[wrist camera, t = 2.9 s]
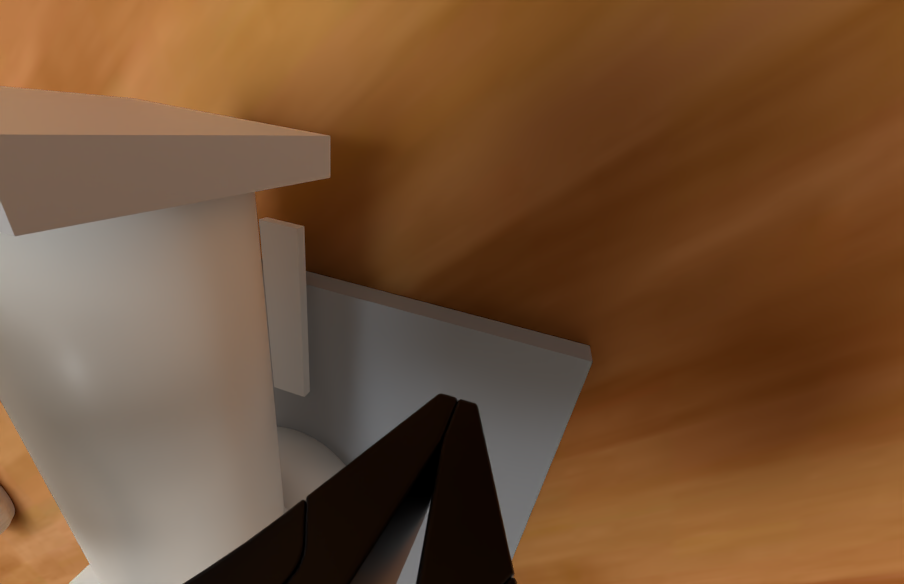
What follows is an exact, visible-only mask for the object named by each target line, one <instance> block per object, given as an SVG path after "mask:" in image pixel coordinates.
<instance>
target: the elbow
mask: <svg viewBox="0 0 904 584" xmlns="http://www.w3.org/2000/svg"><path fill="white" fill-rule="evenodd" d="M326 178H330V136H329V135H324V134H319V133H313V132H308V131H303V130H298V129H292V128H287V127H282V126H276V125H271V124H266V123H261V122H255V121H250V120H245V119H240V118H234V117H229V116H224V115H219V114H213V113H208V112H203V111H197V110H192V109H187V108H182V107H176V106H171V105H166V104H161V103H155V102H150V101H145V100H139V99H134V98H125V97H114V96H103V95H92V94H81V93H70V92H59V91H48V90H37V89H26V88H15V87H5V86H0V401H1V402H2V404H3V406H4V408H5V410H6V412H7V413H8V415H9V417H10V419H11V421H12V423H13V424H14V426H15V428H16V430H17V432H18V434H19V435H20V437H21V439H22V441H23V443H24V445H25V446H26V448H27V450H28V452H29V454H30V456H31V457H32V459H33V461H34V463H35V465H36V467H37V468H38V470H39V472H40V474H41V476H42V477H43V479H44V481H45V483H46V485H47V487H48V488H49V490H50V492H51V494H52V496H53V498H54V499H55V501H56V503H57V505H58V507H59V509H60V510H61V512H62V514H63V516H64V518H65V520H66V521H67V523H68V525H69V527H70V529H71V531H72V532H73V534H74V536H75V538H76V540H77V542H78V543H79V545H80V547H81V549H82V551H83V553H84V554H85V556H86V558H87V560H88V562H89V565H88V566H87V567H86V568H85V569H84V570H83V571H82V572H81V573H79V574H78V575H77V576H76V577H75V578H74V579H73V580H72V581H71V582H70V583H69V584H183V583H185V582H186V581H188V580H189V579H191V578H192V577H194V576H195V575H197V574H199V573H200V572H202V571H203V570H205V569H206V568H208V567H209V566H211V565H212V564H214V563H215V562H217V561H218V560H220V559H221V558H223V557H224V556H226V555H227V554H229V553H230V552H232V551H233V550H235V549H236V548H238V547H239V546H240V545H242V544H243V543H245V542H246V541H248V540H249V539H251V538H252V537H253V536H255V535H256V534H257V533H259V532H260V531H261V530H263V529H264V528H265V527H267V526H268V525H270V524H271V523H272V522H274V521H275V520H276V519H278V518H279V517H280V516H282V515H283V514H284V513H286V512H287V511H288V510H287V509H286V508H285V507H284V500H283V489H282V478H281V468H280V457H279V446H278V435H277V425H276V414H275V403H274V392H273V382H272V371H271V360H270V349H269V339H268V328H267V317H266V306H265V295H264V285H263V274H262V263H261V252H260V242H259V231H258V220H257V209H256V199H255V192H256V191H262V190H267V189H273V188H278V187H283V186H289V185H294V184H299V183H305V182H310V181H316V180H321V179H326Z"/></svg>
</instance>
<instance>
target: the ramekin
mask: <svg viewBox="0 0 904 584" xmlns="http://www.w3.org/2000/svg"><path fill="white" fill-rule="evenodd" d="M14 515H15V508H14V505H13V503H12V501H11V499H10V497H9V496H8V494H7V493H6V492H5V490H4V489H3V488H2V487H1V485H0V534H1V533H3V532H4V531H5V530H6V529H7V528H8V526H9V525H10V523H11V520H12V518H13V517H14Z"/></svg>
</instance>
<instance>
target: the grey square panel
mask: <svg viewBox="0 0 904 584" xmlns="http://www.w3.org/2000/svg"><path fill="white" fill-rule="evenodd" d="M259 227H260V238H261V249H262V259H261V263H262V274H263V285H264V295H265V306H266V317H267V328H268V339H269V349H270V360H271V371H272V382H273V392H274V403H275V414H276V425H277V435H278V446H279V457H280V468H281V478H282V489H283V500H284V507H285V508H286V509H287V510H289V509H291V508H292V507H293V506H294V505H296V504H297V503H298V502H300V501H301V500H305V501H306V497H307V496H308V495H309V494H310V493H311V492H313V491H314V490H315V489H317V488H318V487H319V486H321V485H322V484H323V483H324V482H326V481H327V480H328V479H330V478H331V477H332V476H333V475H335V474H336V473H337V472H339V471H340V470H341V469H342V468H344V467H345V466H346V465H348V464H349V463H350V462H351V461H353V460H354V459H355V458H357V457H358V456H359V455H360V454H362V453H363V452H364V451H366V450H367V449H368V448H369V447H371V446H372V445H373V444H375V443H376V442H377V441H378V440H380V439H381V438H382V437H384V436H385V435H386V434H387V433H389V432H390V431H391V430H393V429H394V428H395V427H396V426H398V425H399V424H400V423H402V422H403V421H404V420H405V419H407V418H408V417H409V416H411V415H412V414H413V413H414V412H416V411H417V410H418V409H420V408H421V407H422V406H423V405H425V404H426V403H427V402H429V401H430V400H431V399H432V398H434V397H435V396H436V395H438V394H440V393H443V394H446V395H450V396H453V397H456V398H457V400H459V399H463V400H467V401H470V402H473V403H476V404H477V406H478V409H479V413H480V418H481V422H482V427H483V432H484V436H485V441H486V445H487V450H488V455H489V459H490V464H491V468H492V473H493V478H494V482H495V487H496V491H497V496H498V501H499V505H500V510H501V514H502V519H503V524H504V528H505V533H506V537H507V542H508V547H509V551H510V556H511V560H512V558H513V556H514V553H515V551H516V548H517V546H518V544H519V541H520V539H521V536H522V534H523V531H524V529H525V526H526V524H527V521H528V519H529V517H530V514H531V512H532V509H533V507H534V504H535V502H536V499H537V497H538V495H539V492H540V490H541V487H542V485H543V482H544V480H545V477H546V475H547V472H548V470H549V468H550V465H551V463H552V460H553V458H554V455H555V453H556V450H557V448H558V445H559V443H560V441H561V438H562V436H563V433H564V431H565V428H566V426H567V423H568V421H569V418H570V416H571V414H572V411H573V409H574V406H575V404H576V401H577V399H578V396H579V394H580V392H581V389H582V387H583V384H584V382H585V379H586V377H587V374H588V372H589V369H590V367H591V365H592V362H593V361H592V356H591V350H590V346H589V345H585V344H582V343H578V342H574V341H570V340H566V339H563V338H559V337H555V336H551V335H547V334H544V333H540V332H536V331H532V330H528V329H525V328H521V327H517V326H513V325H509V324H506V323H502V322H498V321H494V320H490V319H487V318H483V317H479V316H475V315H471V314H468V313H464V312H460V311H456V310H453V309H449V308H445V307H441V306H437V305H434V304H430V303H426V302H422V301H418V300H415V299H411V298H407V297H403V296H399V295H396V294H392V293H388V292H384V291H380V290H377V289H373V288H369V287H365V286H361V285H358V284H354V283H350V282H346V281H342V280H339V279H335V278H331V277H327V276H323V275H320V274H316V273H312V272H308V271H306V262H305V232H304V226H301V225H297V224H293V223H289V222H285V221H281V220H276V219H272V218H268V217H265V218H262V219H259ZM429 508H430V505H429ZM429 508H428V510H427V513H426V515H425V518H424V520H423V523H422V525H421V527H420V530H419V532H418V534H417V537H416V539H415V541H414V544H413V546H412V548H411V551H410V553H409V555H408V558H407V560H406V562H405V565H404V567H403V569H402V572H401V574H400V576H399V579H398V581H397V583H396V584H416V580H417V574H418V568H419V563H420V557H421V552H422V546H423V541H424V535H425V530H426V524H427V519H428V513H429Z"/></svg>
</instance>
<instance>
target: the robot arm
mask: <svg viewBox="0 0 904 584" xmlns="http://www.w3.org/2000/svg"><path fill="white" fill-rule="evenodd" d="M429 505H430V508H429ZM428 508H429V513H428V519H427V524H426V530H425V535H424V541H423V546H422V552H421V557H420V563H419V568H418V574H417V580H416V584H517V582H516V580H515V579H514V578H513V576H514V570H513V565H512V560H511V556H510V551H509V547H508V542H507V537H506V533H505V528H504V524H503V519H502V514H501V510H500V505H499V501H498V496H497V491H496V487H495V482H494V478H493V473H492V468H491V464H490V459H489V455H488V450H487V445H486V441H485V436H484V432H483V427H482V422H481V418H480V413H479V409H478V406H477V404H476V403H473V402H470V401H467V400H463V399H459V400H457V398H456V397H453V396H450V395H446V394H443V393H440V394H438V395H436V396H435V397H434V398H432V399H431V400H430V401H429V402H427V403H426V404H425V405H423V406H422V407H421V408H420V409H418V410H417V411H416V412H414V413H413V414H412V415H411V416H409V417H408V418H407V419H405V420H404V421H403V422H402V423H400V424H399V425H398V426H396V427H395V428H394V429H393V430H391V431H390V432H389V433H387V434H386V435H385V436H384V437H382V438H381V439H380V440H378V441H377V442H376V443H375V444H373V445H372V446H371V447H369V448H368V449H367V450H366V451H364V452H363V453H362V454H360V455H359V456H358V457H357V458H355V459H354V460H353V461H351V462H350V463H349V464H348V465H346V466H345V467H344V468H342V469H341V470H340V471H339V472H337V473H336V474H335V475H333V476H332V477H331V478H330V479H328V480H327V481H326V482H324V483H323V484H322V485H321V486H319V487H318V488H317V489H315V490H314V491H313V492H311V493H310V494H309V495H308V496H307V497H306V501H305V500H301V501H300V502H298V503H297V504H296V505H294V506H293V507H292V508H291V509H289V510H288V511H287V512H286V513H284V514H283V515H282V516H280V517H279V518H278V519H276V520H275V521H274V522H272V523H271V524H270V525H268V526H267V527H265V528H264V529H263V530H261V531H260V532H259V533H257V534H256V535H255V536H253V537H252V538H251V539H249V540H248V541H246V542H245V543H243V544H242V545H240V546H239V547H238V548H236V549H235V550H233V551H232V552H230V553H229V554H227V555H226V556H224V557H223V558H221V559H220V560H218V561H217V562H215V563H214V564H212V565H211V566H209V567H208V568H206V569H205V570H203V571H202V572H200V573H199V574H197V575H195V576H194V577H192V578H191V579H189V580H188V581H186V582H185V583H183V584H396V583H397V581H398V579H399V576H400V574H401V572H402V569H403V567H404V565H405V562H406V560H407V558H408V555H409V553H410V551H411V548H412V546H413V544H414V541H415V539H416V537H417V534H418V532H419V530H420V527H421V525H422V523H423V520H424V518H425V515H426V513H427V510H428Z"/></svg>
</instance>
